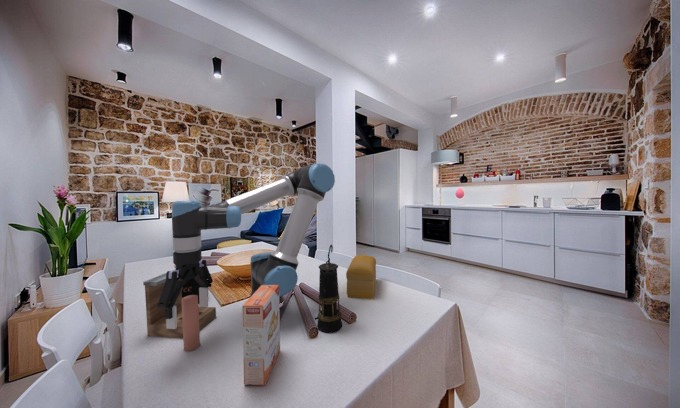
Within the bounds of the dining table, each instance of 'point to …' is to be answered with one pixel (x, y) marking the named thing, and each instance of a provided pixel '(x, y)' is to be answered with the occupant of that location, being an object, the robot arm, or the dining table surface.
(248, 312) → the cracker box
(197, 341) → the peg
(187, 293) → the coffee jar
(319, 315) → the lantern
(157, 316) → the station
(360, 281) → the bread
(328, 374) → the dining table surface
